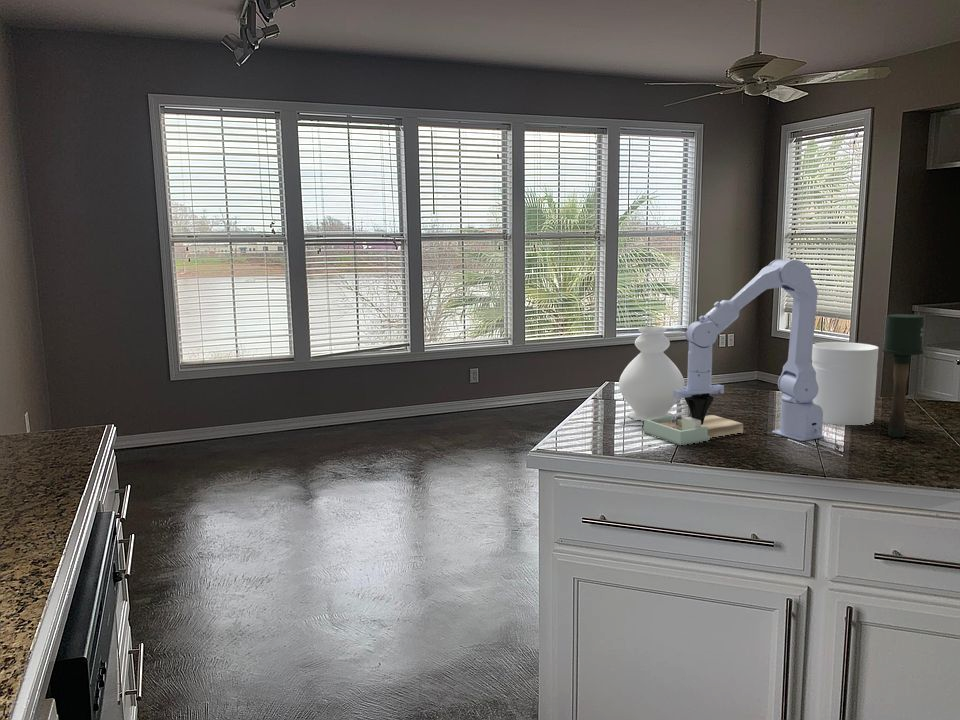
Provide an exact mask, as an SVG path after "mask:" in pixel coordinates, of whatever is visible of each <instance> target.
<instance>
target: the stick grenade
mask: <svg viewBox="0 0 960 720" xmlns="http://www.w3.org/2000/svg"><path fill="white" fill-rule="evenodd" d="M924 322H925V317H924V316H923V315H920V314H907V313H906V314H903V313H900V314H899V313H896V314H894V313H892V314H888V315H886V321H885V332H884V334H885V335H884V345H883V348H882V349H881V350H882V352H883V353H885V354H889V355H892V357H893V375H892V377H893V391H892V405H891V414H890V417H889V424H888V425H889V426H888V429H887V434H888V436H890V437H891V436H892V437H891V438H895V437H898V438H897V439H901V438H900V437H902V438H903V437H905V435H906V428H905V427H906V418H905V405H906V396H907V395H906V394H907V382H908V379H909V371H910V370H909V369H910V360H911V358H912V356H918V355H919V356H920V355H922V354H924V350H923V349H922V348H923V347H922V346H923V337H924V324H925V323H924Z"/></svg>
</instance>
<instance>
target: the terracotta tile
mask: <svg viewBox="0 0 960 720" xmlns="http://www.w3.org/2000/svg"><path fill="white" fill-rule="evenodd" d="M659 424H662V425H665V426H668V427H671V428H674V429H678V426H677V424H674V423H672V424H671V423H668V422H664V423H659Z"/></svg>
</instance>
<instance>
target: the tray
mask: <svg viewBox="0 0 960 720" xmlns="http://www.w3.org/2000/svg"><path fill="white" fill-rule="evenodd" d="M672 421H673V419H672V416H665V417H658V418H652V419H645V420H644V422H643V433H644V432H645V433H644V434H646V433H648V434H651V435H653V436H652V437H654V436H656V437H655V438H657V437H659V438H658V439H660V438H661V439H660V440H662V439H664V440H663V441H665V440H667V441H666V442H668V441H669V442H668V443H671V442H672V443H671V444H673V443H675V444H674V445H676V444H677V445H676V446H679V445H680V446H679V447H682V446H681V445H683V446H687V444H689V445H694V444H693V443H695V444H700V443H704V442H703V441H706V442H709V441H708V440H711V439H710V436H708V435H707V433H708V427H701V428H695V429H688V430H682V427H680V426H678V429H674V428H671V427H668V426H665V425H662V424H659V423H664V422H668V423H671V424H673V422H672ZM648 434H647V435H648ZM651 435H650V436H651ZM699 442H700V443H699Z"/></svg>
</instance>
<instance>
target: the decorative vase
mask: <svg viewBox="0 0 960 720" xmlns="http://www.w3.org/2000/svg"><path fill="white" fill-rule="evenodd" d="M667 330H668V328H667V327H664V326H640V327H639V328H638V332H639V333H641V334H640V335H639V336H637V338H635V340H634V346H635V347H636V349H638V351H640V352H639V353H638V354H637V355H636V356H635V357H634V358H633V359H632V360H631V361H629V363H628V364H627V366H626V367H625V368H624V370H623V371H622V373H621V375H620V377H619V381H618V388H619V393H620V394H621V396H622V398H623V399H624V400H625V402H626V403H627V404H628V405H629V406H630V407H631V409H632V411H630V412H628V413H627V417H628V416H629V417H630V418H629V417H628V418H629V419H631V418H633V419H637V420H641V421H640V422H643V421H644V420H645V419H652V418H658V417H665V416H672V420H674V418H675V415H674V414H673V413H672V412H670V410H671V409H672V408H673V407H674V406H675V405H676V403H677V402H678V401H679V400H680V399H676V398H673V391H674V390H678V389H681V388H685V379H684V377H683V375H682V373H681V371H680V369H679V368H678V367H677V365H676V364H675V363H674V361H672V360H671V358H670V357H668V356H667V354H666V353H664V352H665V351H666V350H667V349H668V348H669V347H670V345H671V342H670V340H669V338H668V337H667V336H666V335H665V334H664V333H666V332H667ZM633 419H632V420H633ZM637 420H636V421H637Z"/></svg>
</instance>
